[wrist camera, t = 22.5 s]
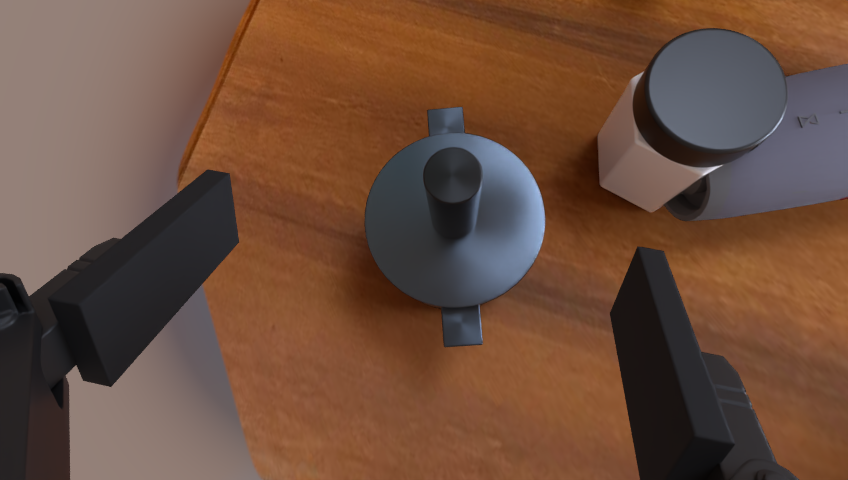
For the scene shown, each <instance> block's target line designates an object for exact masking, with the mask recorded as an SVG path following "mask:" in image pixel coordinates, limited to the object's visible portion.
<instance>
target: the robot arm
mask: <svg viewBox="0 0 848 480" xmlns="http://www.w3.org/2000/svg"><path fill="white" fill-rule="evenodd" d="M238 243H239V238H238V231H237V224H236V217H235V209H234V202H233V195H232V188H231V180H230V173H224V172H219V171H213V170H206V171H205V172H204V173H203V174H201V175H200V176H199V177H198V178H196V179H195V180H194V181H193V182H191V183H190V184H189V185H188V186H186V187H185V188H184V189H183V190H182V191H180V192H179V193H178V194H177V195H175V196H174V197H173V198H172V199H170V200H169V201H168V202H167V203H165V204H164V205H163V206H162V207H160V208H159V209H158V210H157V211H155V212H154V213H153V214H152V215H150V216H149V217H148V218H147V219H145V220H144V221H143V222H142V223H141V224H139V225H138V226H137V227H135V228H134V229H133V230H132V231H131V232H129V233H128V234H127V235H125V236H124V237H123V238H122V239H117V238H112V239H110V240H108V241H105V242H103V243H101V244H98V245H96V246H94V247H93V248H91V249H90V250H89V251H88V252H86V253H85V254H84V255H82V256H81V257H80V259H79V260H76V261H75V262H73V263H72V264H71V265H69V266H68V268H67V270H66V269H65V270H63V271H62V272H60V273H59V274H58V275H56V276H55V277H54V278H53V279H51V280H50V281H49V282H47V283H46V284H45V285H43V286H42V287H41V288H40V289H38V290H37V291H36V292H34V293H33V294H32V295H30V296H28V294H27V292H26V290H25V288H24V285H23V283H22V281H21V279H20V278H19V277H17V276H15V275H12V274H5V273H0V480H70V444H69V443H70V440H69V439H70V438H69V436H70V435H69V384H68V381H67V378H66V376H65V375H66V374H67V373H68V372H69V371H70V370H71V369H72V368H73V367H74V366H75V365H77V367H78V369H79V372H80V374H81V377H82V379H83V381H87V382H92V383H96V384H101V385H105V386H109V387H111V386H112V385H113V384H114V383H115V382H116V381H117V380H118V379H119V377H120V376H121V375H122V374H123V373H124V372H125V371H126V369H127V368H128V367H129V366H130V365H131V364H132V363H133V362H134V360H135V359H136V358H137V357H138V356H139V355H140V354H141V353H142V351H143V350H144V349H145V348H146V347H147V346H148V345H149V343H150V342H151V341H152V340H153V339H154V338H155V337H156V336H157V334H158V333H159V332H160V331H161V330H162V329H163V328H164V326H165V325H166V324H167V323H168V322H169V321H170V320H171V319H172V317H173V316H174V315H175V314H176V313H177V312H178V311H179V309H180V308H181V307H182V306H183V305H184V304H185V303H186V302H187V300H188V299H189V298H190V297H191V296H192V295H193V294H194V292H195V291H196V290H197V289H198V288H199V287H200V286H201V285H202V283H203V282H204V281H205V280H206V279H207V278H208V277H209V276H210V274H211V273H212V272H213V271H214V270H215V269H216V268H217V266H218V265H219V264H220V263H221V262H222V261H223V260H224V259H225V257H226V256H227V255H228V254H229V253H230V252H231V251H232V249H233V248H234V247H235V246H236V245H237V244H238ZM610 317H611V322H612V328H613V333H614V339H615V344H616V349H617V355H618V360H619V366H620V371H621V377H622V382H623V388H624V393H625V399H626V404H627V410H628V415H629V421H630V426H631V432H632V437H633V443H634V448H635V454H636V459H637V465H638V470H639V476H640V480H799V479H798V478H797V477H796V476H794V475H793V474H792V473H791V472H790V471H789V470H787V469H785V468H784V467H782V466H780V465H778V464H777V462H776V460H775V457H774V455H773V453H772V450H771V448H770V446H769V443H768V441H767V439H766V436H765V434H764V432H763V430H762V427H761V425H760V423H759V420H758V418H757V416H756V413H755V411H754V409H752V404H751V402H750V400H749V397H748V395H746V394H745V392H746V390H745V388H744V386H743V383H742V381H741V379H740V377H739V374H738V373H737V372H736V370H735V369H734V368H733V367H732V366H731V365H730V364H729V363H728V361H727V360H726V359H725V358H724V357H723V356H719V355H714V354H709V353H704V352H701V350H700V348H699V345H698V342H697V340H696V337H695V334H694V331H693V329H692V326H691V323H690V321H689V318H688V315H687V313H686V310H685V307H684V305H683V302H682V299H681V296H680V294H679V291H678V288H677V286H676V283H675V280H674V278H673V275H672V272H671V270H670V267H669V264H668V261H667V259H666V256H665V253H664V251H661V250H655V249H650V248H644V247H637V249H636V252H635V254H634V256H633V259H632V261H631V264H630V266H629V269H628V271H627V273H626V276H625V278H624V281H623V283H622V285H621V288H620V290H619V293H618V295H617V298H616V300H615V302H614V305H613V307H612V310H611V312H610Z"/></svg>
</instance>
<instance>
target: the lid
mask: <svg viewBox="0 0 848 480" xmlns="http://www.w3.org/2000/svg"><path fill="white" fill-rule="evenodd" d="M544 230H545V209H544V204H543V199H542V196H541V192H540V189H539V187H538V185H537V183H536V181H535V179H534V177H533V175H532V174H531V172H530V171H529V169H528V168H527V167H526V166H525V164H524V163H523V162H522V161H521V160H520V159H519V158H518V157H517V156H516V155H515V154H513V153H512V152H511V151H510V150H508V149H507V148H505V147H504V146H502V145H500V144H498V143H496V142H495V141H493V140H490V139H487V138H484V137H482V136H478V135H473V134H467V133H444V134H437V135H433V136H429V137H426V138H423V139H421V140H418V141H416V142H414V143H412V144H410V145H408V146H407V147H405V148H403V149H402V150H401V151H399V152H398V153H397V154H395V155H394V156H393V157H392V158H391V159H390V160H389V161H388V162H387V163H386V165H385V166H384V167H383V168H382V170H381V171H380V172H379V174H378V176H377V177H376V179H375V181H374V183H373V185H372V187H371V190H370V192H369V196H368V199H367V203H366V209H365V232H366V238H367V242H368V246H369V249H370V251H371V254H372V256H373V258H374V260H375V262H376V264H377V266H378V267H379V269H380V270H381V271H382V273H383V274H384V275H385V277H386V278H387V279H388V280H389V281H390V282H391V283H392V284H393V285H394V286H396V287H397V288H398V289H399V290H401V291H402V292H403V293H405V294H406V295H408V296H410V297H412V298H413V299H415V300H418V301H420V302H423V303H425V304H429V305H433V306H436V307H443V308H466V307H473V306H477V305H480V304H484V303H487V302H489V301H491V300H494V299H496V298H498V297H499V296H501V295H503V294H504V293H506V292H507V291H509V290H510V289H511V288H512V287H514V286H515V285H516V284H517V283H518V282H519V281H520V280H521V279H522V278H523V277H524V276H525V275H526V273H527V272H528V270H529V269H530V268H531V266H532V265H533V263H534V261H535V259H536V257H537V255H538V253H539V250H540V248H541V245H542V241H543V236H544Z"/></svg>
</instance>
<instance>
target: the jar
mask: <svg viewBox="0 0 848 480" xmlns="http://www.w3.org/2000/svg"><path fill="white" fill-rule="evenodd" d="M787 103H788V87H787V81H786V78H785V75H784V72H783V70H782V68H781V66H780V64H779V63H778V61H777V60H776V58H775V57H774V56H773V55H772V54H771V53H770V52H769V51H768V50H767V49H766V48H765V47H764V46H763V45H762V44H760V43H759V42H757V41H756V40H754V39H752V38H750V37H748V36H746V35H744V34H741V33H738V32H735V31H731V30H726V29H718V28H708V29H699V30H694V31H690V32H687V33H684V34H682V35H679V36H677V37H676V38H674V39H672V40H671V41H669V42H668V43H666V44H665V45H664V46H663V47H662V48H661V49H660V50H659V51H658V52H657V53H656V54H655V56H654V57H653V59H652V60H651V62H650V63H649V65H648V66H647V68H646V70H645V71H644V72H642V73H640V74H638V75H636V76H635V77H633V78H632V79H631V81H630V82H629V84H628V85H627V87H626V89H625V90H624V92H623V94H622V95H621V97H620V99H619V100H618V102H617V103H616V105H615V107H614V108H613V110H612V112H611V113H610V115H609V117H608V118H607V120H606V121H605V123H604V125H603V126H602V128H601V130H600V131H599V133H598V159H599V184H600V186H601V187H603V188H605V189H607V190H608V191H610V192H612V193H614V194H616V195H618V196H620V197H622V198H624V199H625V200H627V201H629V202H631V203H633V204H635V205H637V206H639V207H641V208H643V209H644V210H646V211H648V212H654V211H656V210H657V209H659V208H661V207H663V206H665V205H664V204H666V203H668V202H669V201H671V200H673V199H675V198H676V197H678V196H680V195H682V194H684V192H685V191H686V190H687V189H689V188H690V187H692V186H693V185H695V184H696V183H697V182H699V181H700V180H702V179H704V178H705V177H706V175H707V174H709V173H710V172H712V171H714V170H715V169H717V168H719V167H721V166H722V165H724V164H727V163H730V162H732V161H734V160H736V159H738V158H740V157H741V156H743V155H744V154H746V153H747V154H748V153H749V152H751V151H752V150H754V149H755V148H757V147H758V146H759V145H761V143H763V142H764V141H765V140H766V139H767V138H768V137H769V136H770V135H771V134H772V133H773V132H774V131H775V130H776V129H777V127H778V126H779V124H780V123H781V121H782V119H783V117H784V114H785V112H786V108H787Z"/></svg>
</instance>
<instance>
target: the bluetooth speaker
mask: <svg viewBox="0 0 848 480" xmlns="http://www.w3.org/2000/svg"><path fill="white" fill-rule="evenodd" d="M785 78H786V81H787V87H788V103H787V108H786V112H785V114H784V117H783V119H782V121H781V123H780V124H779V126H778V127H777V129H776V130H775V131H774V132H773V133H772V134H771V135H770V136H769V137H768V138H767V139H766V140H765V141H764V142H763V143H761V145H759V146H758V147H757V148H755V149H754V150H752V151H751V152H749V153H748V154H747V153H746V154H744V155H743V156H741V157H740V158H738V159H736V160H734V161H732V162H730V163H727V164H724V165H722V166H721V167H719V168H717V169H715V170H714V171H712V172H710V173H709V174H707V175H706V177H705V178H704V179H702V180H700V181H699V182H697V183H696V184H695V185H693V186H692V187H690V188H689V189H687V190H686V191H685V192H684V194H682V195H680V196H678V197H676V198H675V199H673V200H671V201H669V202H668V203H666V204H664V205H665V207H666V208H667V210H668V211H669V212H670V213H671V214H672V215H673V216H674V217H676V218H678V219H680V220H683V221H696V220H711V219H721V218H729V217H736V216H742V215H749V214H755V213H762V212H768V211H775V210H781V209H788V208H794V207H800V206H806V205H811V204H817V203H823V202H828V201H833V200H839V199H840V200H844V199H848V64H844V65H839V66H834V67H829V68H824V69H819V70H814V71H809V72H805V73H800V74H796V75H791V76H787V77H785Z"/></svg>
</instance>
